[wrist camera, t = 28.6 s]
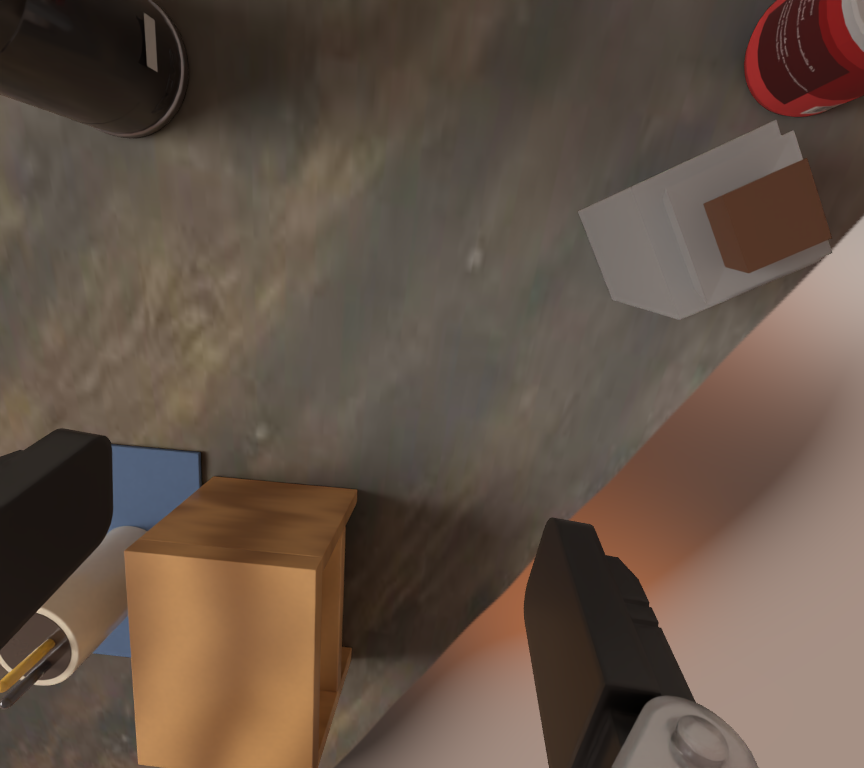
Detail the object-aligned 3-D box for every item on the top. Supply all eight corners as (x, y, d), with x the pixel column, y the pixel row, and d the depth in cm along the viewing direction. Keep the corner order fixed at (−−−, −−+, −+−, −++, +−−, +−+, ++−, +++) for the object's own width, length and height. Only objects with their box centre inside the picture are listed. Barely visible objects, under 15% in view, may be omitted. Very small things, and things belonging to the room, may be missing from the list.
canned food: (895, 35, 35) (1079, -63, 24) (803, 146, 37) (937, 100, 26) (802, -42, 35) (948, -175, 24) (714, 75, 36) (813, -1, 26)
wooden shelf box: (217, 644, 49) (137, 764, 38) (213, 476, 46) (123, 550, 34) (351, 659, 48) (312, 786, 37) (357, 489, 45) (316, 570, 33)
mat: (79, 648, 50) (76, 651, 50) (60, 439, 46) (56, 441, 46) (207, 662, 50) (205, 665, 49) (200, 451, 45) (198, 453, 45)
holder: (90, 573, 48) (-80, 712, 33) (109, 513, 47) (-60, 631, 32) (156, 602, 48) (16, 753, 34) (177, 543, 47) (40, 675, 32)
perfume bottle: (612, 299, 40) (719, 331, 23) (577, 211, 39) (662, 172, 21) (704, 260, 39) (891, 261, 22) (671, 167, 38) (841, 89, 20)
